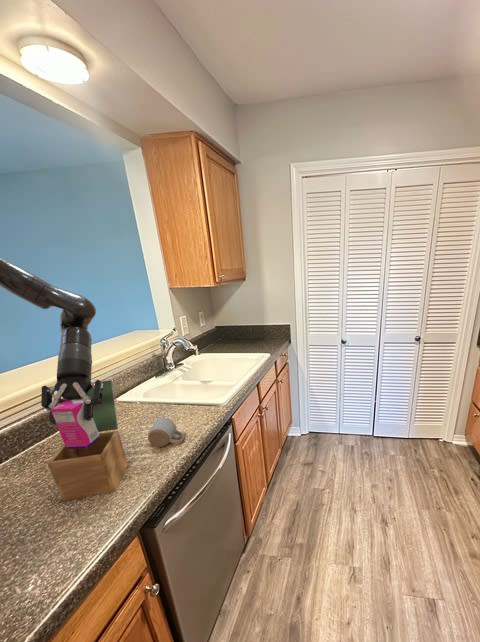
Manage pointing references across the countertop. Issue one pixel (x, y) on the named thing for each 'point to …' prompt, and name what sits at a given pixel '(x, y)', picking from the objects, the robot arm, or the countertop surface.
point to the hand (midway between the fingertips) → (71, 421)
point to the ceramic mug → (163, 433)
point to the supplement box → (74, 424)
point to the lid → (105, 409)
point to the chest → (89, 467)
